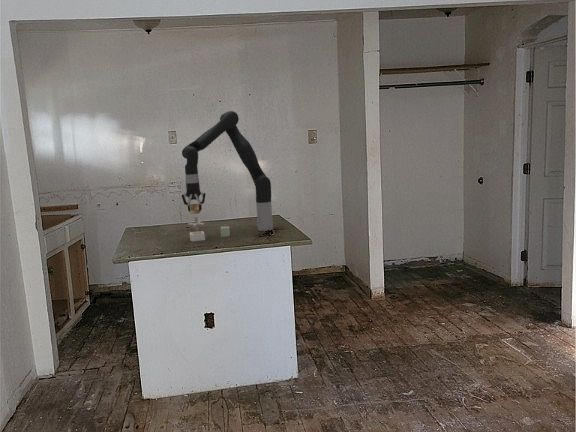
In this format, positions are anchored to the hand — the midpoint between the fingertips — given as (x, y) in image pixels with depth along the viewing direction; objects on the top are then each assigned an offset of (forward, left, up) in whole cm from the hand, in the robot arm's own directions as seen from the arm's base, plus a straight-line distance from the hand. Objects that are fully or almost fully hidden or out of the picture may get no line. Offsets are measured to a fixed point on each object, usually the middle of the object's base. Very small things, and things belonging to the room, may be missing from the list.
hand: (195, 211), depth 296 cm
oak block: (0, 0, -1) cm, 1 cm away
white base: (0, 0, -17) cm, 17 cm away
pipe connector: (+2, -20, -17) cm, 26 cm away
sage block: (-16, -5, -17) cm, 24 cm away
